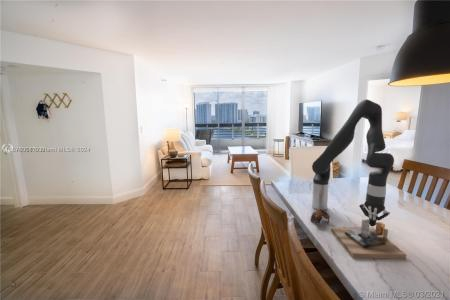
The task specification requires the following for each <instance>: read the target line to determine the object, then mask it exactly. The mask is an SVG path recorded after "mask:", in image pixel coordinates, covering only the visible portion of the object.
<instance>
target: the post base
mask: <svg viewBox="0 0 450 300" xmlns="http://www.w3.org/2000/svg"><path fill="white" fill-rule="evenodd" d="M369 222H370V220H369V218H366V217H365V218H364V217H363V218H361V227H360V226H359V227H358V226H357V227H355V226H340V227H339V226H331V227H330V232H331V233H332V234H333V236H334V237H335V238H336V240H337V241H338V242H339V243H340V244H341V246H342V247H343V248H344V249H345V250H346V252H347V253H348V254H349V255H350V256H351V258H352V259H354V258H355V259H396V260H397V259H400V260H401V259H402V260H403V259H406V258H407V254H406V252H405V251H403V250H401V249H400V248H399V247H398V246H397V245H395V243H393V242H392V241H391V240H390V239H388V236H389V234H388V233H389V229H387V228H385V229H384V234H383V235H381V236H379V235H378V237H379V238H381V239H382V240H384V241H386V244H383V245H376V246H370V247H362V246H361V245H360V244H358V243H357V242H356V241H354V240H353V239H351V238H350V237H349V236H347V235H346V234H345V231H351V230H359V229H361V236H360V237H361V238H363V239H369V238H368V234H369V232H375V231H376V227H375V226H373V227H372V226H370V224H369Z"/></svg>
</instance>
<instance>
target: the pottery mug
mask: <svg viewBox="0 0 450 300" xmlns="http://www.w3.org/2000/svg"><path fill="white" fill-rule="evenodd" d="M323 218H324V219H326V220H327V224H329V223H330V218H331V216H330V215H329V214H328V213H327V212H325V210H321V209H318V210H317V209H316V210H314V211H313V212H312V214H311V217H310V221H311V223H312V224H315V223H316V224H317V225H318V224H321V221H322V220H323Z"/></svg>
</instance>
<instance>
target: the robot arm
mask: <svg viewBox="0 0 450 300" xmlns="http://www.w3.org/2000/svg"><path fill="white" fill-rule="evenodd" d="M382 110H383V109H382V106H381V105H380V104H379V103H376V102H374V101H372V100H370V99H363V100H361V101H360V102H358V104H357V105H356V106H355V107H354V109H353V110H352V112H351V113H350V116H349V117H348V118H347V119H346V121H345V122H344V123H343V125H342V127H341V128H340V129H339V130H338V132H337V133H336V134H335V135H334V136H333V138H332V139H331V141H330V142H329V143H328V145H327V147H325V149H324V151H323V152H322V153H321V154H320V155H319V157H318V158H316V159H315V161H314V162H313V163H312V165H311V169H312V172H313V173H314V177H313V180H312V202H311V207H312V208H313V209H314V210H316V211H317V210H318V209H321V210H323V211H326V210H327V209H328V202H329V201H328V200H329V198H328V197H329V181H330V178H331V168H332V167H331V164H332V162H333V161H334V160H335V159H336V158H338V156H340V154H342V153H343V152H344V151H345V150H346V149H347V148H348V147H349V146H350V145H351V143H352V142H353V140H354V138H355V134H356V133H355V131H356V126H357V124H358V123H359V122H360V120H362V118H364V119H366V120H368V123H369V127H368V130H367V132H366V136H365V137H366V144H367V154H366V159H365V163H366V164H367V166H369V168H373V169H374V168H377V169H378V170H375V171H370V172H369V173H368V181H367V182H368V183H367V187H366V193H365V194H366V195H365V201H364V202H363V203H361V204H359V208H360V210H361V211H362V213H363V215H364V216H365V217H367V218H368V219H369V220H370V222H369V227H376V223H377V222H380V221H381V220H383V219H385V218H386V217H388V216H390V214H391V212H389V211H387V210H386V207H385V203H386V195H387V180H388V176H389V175H390V172H391V170H392V168H393V166H394V164H395V159H394V156H393V155H392V154H391V153H388V152H382V151H384V150H385V149H386V147H387V146H386V142H385V138H384V137H385V136H384V133H383V111H382ZM380 213H382V214H381V215H380Z"/></svg>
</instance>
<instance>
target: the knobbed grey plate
mask: <svg viewBox="0 0 450 300" xmlns="http://www.w3.org/2000/svg"><path fill="white" fill-rule="evenodd" d="M385 226H386V224H385V223H383V222H381V221H376V225H375V229H376V231H375V232H369V234H368V238H369V239H363V238H361V237H360V236H361V229H359V230H351V231H345V234H346V235H347V236H349V237H350V238H351V239H353V240H354V241H356V242H357V243H358V244H360V245H361V246H362V247H370V246H376V245H383V244H386V241H384V240H382V239H381V238H379V237H378V235H379V236H381V235H383V234H384V229H386V227H385Z"/></svg>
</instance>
